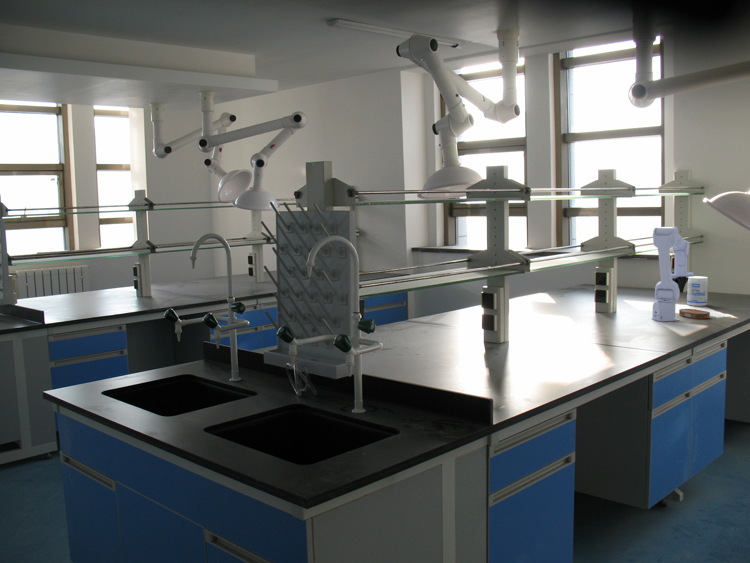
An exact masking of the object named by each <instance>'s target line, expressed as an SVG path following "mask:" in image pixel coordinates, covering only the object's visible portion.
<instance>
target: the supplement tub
mask: <svg viewBox="0 0 750 563" xmlns="http://www.w3.org/2000/svg"><path fill="white" fill-rule="evenodd" d="M687 278H688V281H687V289H686V290H687V293H686V294H687V295H686V304H687V305H688V306H693V307H705V306H707V305H708V293H709V291H708V289H709V279H708V278H709V277H708V276H700V275H699V276H696V275H695V276H694V277H687Z"/></svg>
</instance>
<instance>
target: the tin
mask: <svg viewBox="0 0 750 563" xmlns="http://www.w3.org/2000/svg"><path fill="white" fill-rule="evenodd" d="M678 314H679V316H681V317H685V318H689V319H695V320H696V319H697V320H704V319H710V317H711V316H710V312H709V311H705V310H701V309H696V308H695V309H694V308H680V309H679V311H678Z"/></svg>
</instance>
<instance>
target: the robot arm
mask: <svg viewBox="0 0 750 563" xmlns="http://www.w3.org/2000/svg"><path fill="white" fill-rule="evenodd" d="M679 230H680V229H679V228H678V227H677V226H655V227H654V229H653V231H652V241H653V242H652V243H653V246H654V247H656V248H657V253H658V263H659V266H658V267H659V275H660V281H658V282H657V283H656V285H655V287H654V298H655V300H657V301H655V302H654V303H653V304H652V317H651V320H654V321H657V322H661V323H663V322H675V321H677V322H678V321H680V319H679V318H676V302H677V301H678V300H679V299H680V297H681V296H680V294H681V293H684V290H685V286H686V284H688V277H694V275H695V273H694V272H688V256H689V254H690V252H689V250H690V242H689V241H688V240H685V239H684V238H683V237H682V236H681V235H680V234H679V233H680V232H679ZM671 248H672V251H673V252H674V267H673V268H674V271H673V272H674V273H672V262H671V253H670V251H671V250H670V249H671Z"/></svg>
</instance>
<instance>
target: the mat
mask: <svg viewBox="0 0 750 563" xmlns="http://www.w3.org/2000/svg"><path fill="white" fill-rule="evenodd" d="M708 312H710V317H712V318H715V317H716V318H715V319H720V318H723V317H724V318H731V316H729V315H726V314H722V313H719V312H716V311H709V310H708Z"/></svg>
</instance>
